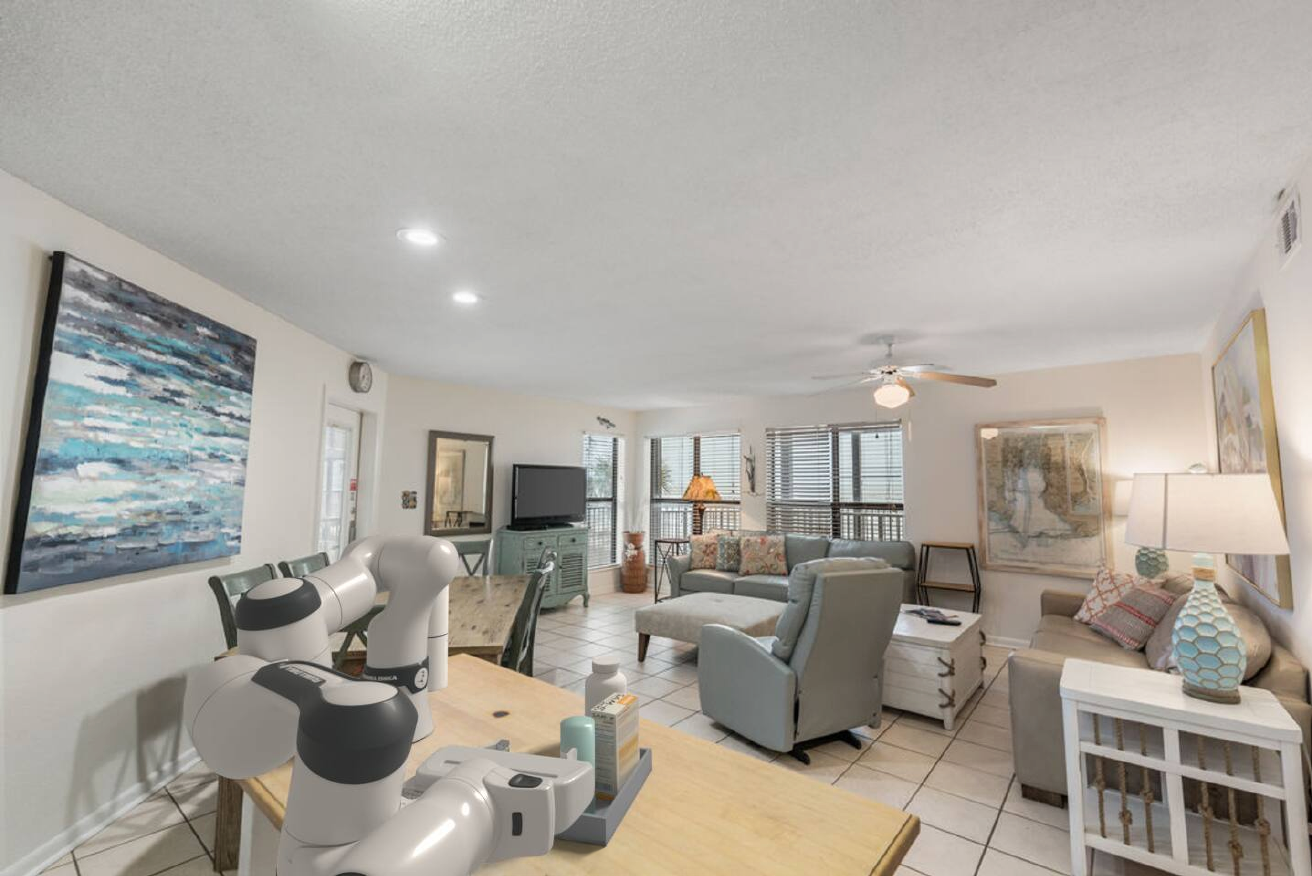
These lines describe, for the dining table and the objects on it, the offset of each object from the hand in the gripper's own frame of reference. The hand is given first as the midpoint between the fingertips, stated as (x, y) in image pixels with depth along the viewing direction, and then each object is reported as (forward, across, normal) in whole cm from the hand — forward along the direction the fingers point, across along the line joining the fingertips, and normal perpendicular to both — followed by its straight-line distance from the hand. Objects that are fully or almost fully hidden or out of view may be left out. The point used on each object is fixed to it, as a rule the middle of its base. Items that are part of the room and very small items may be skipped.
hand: (537, 749), depth 71 cm
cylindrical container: (+55, -59, -15) cm, 82 cm away
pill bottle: (+37, -6, -15) cm, 41 cm away
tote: (+18, 0, -15) cm, 24 cm away
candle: (+12, 0, -14) cm, 19 cm away
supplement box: (+21, +3, -15) cm, 26 cm away
